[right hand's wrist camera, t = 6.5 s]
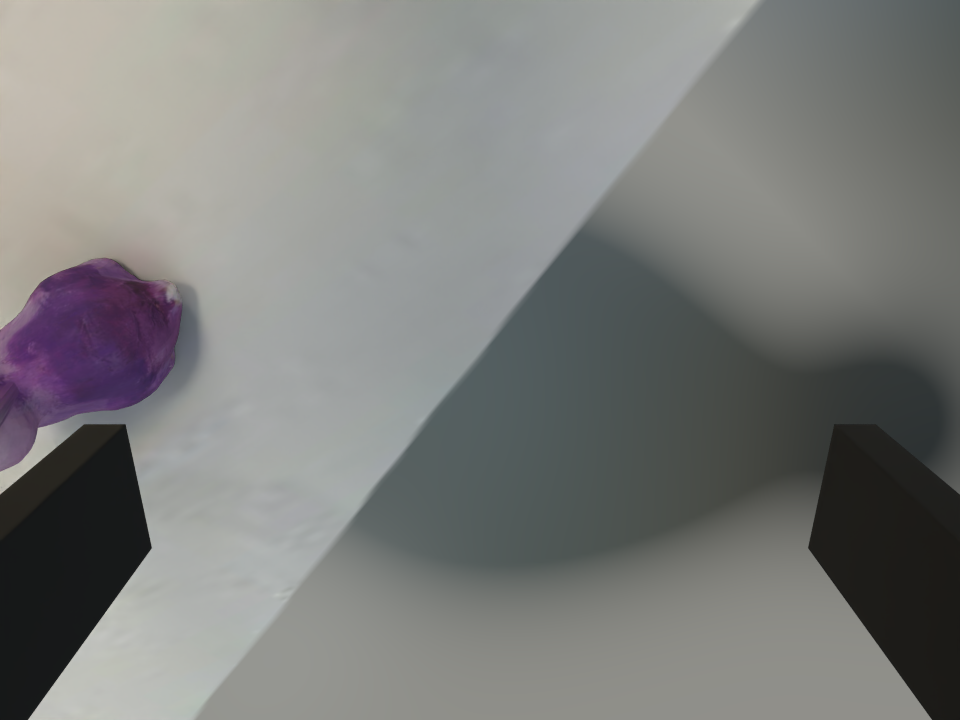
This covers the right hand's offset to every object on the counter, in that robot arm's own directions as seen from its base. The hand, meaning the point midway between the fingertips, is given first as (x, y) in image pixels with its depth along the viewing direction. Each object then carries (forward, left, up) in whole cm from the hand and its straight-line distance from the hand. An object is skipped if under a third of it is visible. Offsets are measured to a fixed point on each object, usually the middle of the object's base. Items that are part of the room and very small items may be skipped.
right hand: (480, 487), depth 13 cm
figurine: (+7, -22, -28) cm, 36 cm away
